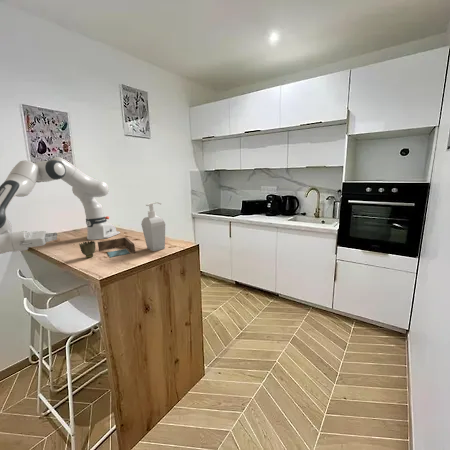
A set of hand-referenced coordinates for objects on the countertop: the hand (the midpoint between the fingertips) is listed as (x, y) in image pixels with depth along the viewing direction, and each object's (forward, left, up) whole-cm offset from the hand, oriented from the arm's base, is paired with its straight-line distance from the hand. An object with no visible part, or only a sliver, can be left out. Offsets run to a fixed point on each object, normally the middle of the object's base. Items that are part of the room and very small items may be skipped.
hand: (57, 235), depth 126 cm
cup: (-10, +7, -14) cm, 19 cm away
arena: (-21, +15, -14) cm, 29 cm away
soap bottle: (-32, +34, -14) cm, 49 cm away
